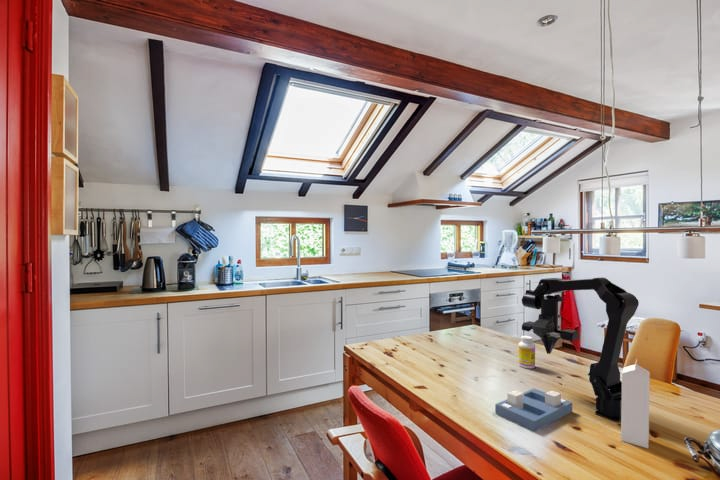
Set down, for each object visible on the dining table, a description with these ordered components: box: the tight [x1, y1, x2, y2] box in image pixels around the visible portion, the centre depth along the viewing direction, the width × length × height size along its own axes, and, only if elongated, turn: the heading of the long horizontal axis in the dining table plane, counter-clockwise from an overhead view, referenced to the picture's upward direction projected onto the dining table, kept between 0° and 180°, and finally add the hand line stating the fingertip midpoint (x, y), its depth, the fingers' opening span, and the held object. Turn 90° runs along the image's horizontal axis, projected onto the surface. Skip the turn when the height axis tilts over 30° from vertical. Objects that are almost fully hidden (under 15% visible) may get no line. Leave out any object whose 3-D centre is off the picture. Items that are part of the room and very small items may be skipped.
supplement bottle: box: [517, 335, 536, 370], centre depth 159 cm, size 7×7×13 cm
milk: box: [620, 358, 651, 449], centre depth 101 cm, size 6×6×22 cm
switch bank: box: [494, 388, 573, 432], centre depth 117 cm, size 13×22×3 cm, turn 124°
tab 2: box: [545, 389, 562, 408], centre depth 117 cm, size 3×4×5 cm
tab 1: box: [507, 389, 524, 410], centre depth 117 cm, size 3×4×5 cm
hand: (548, 353), depth 136 cm, fingers closed
